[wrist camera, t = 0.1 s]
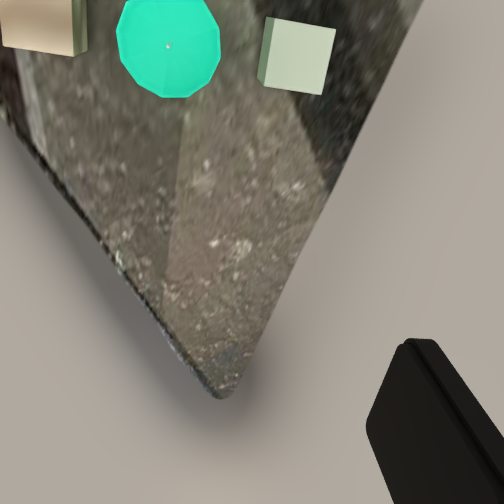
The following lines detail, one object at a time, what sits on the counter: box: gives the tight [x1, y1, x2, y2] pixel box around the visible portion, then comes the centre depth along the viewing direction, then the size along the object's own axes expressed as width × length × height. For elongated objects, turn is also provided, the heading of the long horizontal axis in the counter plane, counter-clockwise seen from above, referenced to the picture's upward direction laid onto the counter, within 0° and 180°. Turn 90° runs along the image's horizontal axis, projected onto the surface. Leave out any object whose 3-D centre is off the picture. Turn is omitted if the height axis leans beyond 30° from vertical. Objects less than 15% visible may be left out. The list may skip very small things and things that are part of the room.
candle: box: [116, 0, 221, 98], centre depth 29 cm, size 6×6×12 cm
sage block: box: [257, 17, 336, 95], centre depth 33 cm, size 4×4×4 cm
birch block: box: [0, 0, 88, 57], centre depth 30 cm, size 4×4×4 cm
